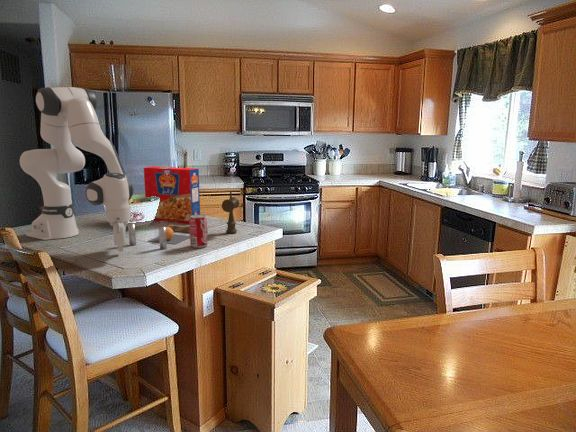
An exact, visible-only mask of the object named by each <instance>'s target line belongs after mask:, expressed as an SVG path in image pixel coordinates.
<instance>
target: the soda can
mask: <svg viewBox="0 0 576 432" xmlns="http://www.w3.org/2000/svg"><path fill="white" fill-rule="evenodd" d="M188 226H190V233H189V236H190V238H189V242H190V244H189V245H190V246H191V247H192V248H194V249H204V248H205V247H207V246H208V244H209V241H208V240H209V237H208V233H207V231H208V220H207V218H206V215H205V214H200V215H192V216H190V220H189V224H188Z"/></svg>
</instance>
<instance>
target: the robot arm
mask: <svg viewBox="0 0 576 432" xmlns="http://www.w3.org/2000/svg"><path fill="white" fill-rule="evenodd" d="M35 103H36V107H37V110H39V112H41V114H40V132H39V133H40V137H41V139H42V140H43V141H44V142H46V143H48V144H49V145H51V146H54V147H53V148H37V149H30V150H26V151H23V152H22V153H21V155H20V157H19V165H20V169H22V170H23V172H24V173H25V174H27V175H29V176H31V177H32V178H33V179H34V180H35V181H36V182H37V184H38V185H39V186H40V189H41V193H42V198H43V199H42V200H43V206H39V209H40V210H41V213H40V215H39V216H38V217H37V218H35V219H33V221H32V222H31V231H28V232H27V233H25V234H26V235H25V236H26V237H30V238H34V239H37V240H38V239H39V240H43V241H47V240H55V239H67V238H71V237H75V236H77V235H79V231H80V230H79V228H78V225H77V222H76V217H75V214H74V209H75V207H74V204H73V201H72V200H73V199H72V192H71V191H72V190H71V187H70V186H69V185H68V184H67V183H65V182H63V181H60V180H57V178H56V175H57V174H59V175H60V174H71V173H72V174H73V173H76V172H80V171H82V170H83V169H84V167H85V165H86V157H85V155H84V153H83V152H82V151H81V150H83V151H85V152H89V153H92V154H94V155H96V156H98V157H100V158H101V159H102V160H103V161H104V163H105V165H106V168H107V170H108V173H105V174H103V176H102V177H101V178H100V179H97V180H94V181H91V182H89V183H88V184H87V186H86V188H85V198H86V200H87V201H88V202H89V203H90V204H91V205H92V206H98V207H99V206H105V207H104V210H105V221H106V222H108V223H109V225H110V226H111V227H112V234H113V236H112V237H113V244H114V246H117V248H118V249H117V250H118V253H119V252H121V253H122V252H124V245H125V244H126V230H127V226H128V224H129V223H128V222H129V221H131V219H132V216H131V213H132V211H131V205H130V202H129V201H131V199H132V197H133V194H134V186H133V185H132V183H131V181H130V179H129V178H128V176H127V173H126V172H125V169H124V167H123V164H122V162H121V160H120V156H119V154H118V152H117V150H116V148H115V146H114V144H113V142H112V141H111V140H110V139H108V138H107V137H106V135H105V133H104V131H102V128H101V126H100V121H99V119H98V114H97V112H96V109H97V107H98V99H97V96H96V94H95V93H94V91H93V90H92V89H89V88H85V87H76V86H75V87H74V86H57V87H42V88H39V89H38V90H37V92H36V94H35ZM72 142H73V143H72ZM75 146H76V147H78V148H79V149H78V148H76V147H75ZM80 149H81V150H80Z"/></svg>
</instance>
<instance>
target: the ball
mask: <svg viewBox="0 0 576 432" xmlns="http://www.w3.org/2000/svg"><path fill="white" fill-rule="evenodd" d="M165 227H166V240H170V239H171V238H172V237H173V235H174V232H175V231H173V230H172V229H171V228H170V227H168V226H165Z"/></svg>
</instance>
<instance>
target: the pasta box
mask: <svg viewBox="0 0 576 432" xmlns="http://www.w3.org/2000/svg"><path fill="white" fill-rule="evenodd" d="M199 173H200V170H199V168H194V167H173V166H170V167H169V166H154V165H153V166H147V167H146V166H145V167H143V179H144V181H143V182H144V194H145V195H144V196H145V197H151V196H156V197H159V198H160V202H159V206H158V209H157V213H156V216H155V219H154V221H153V222H160V221H161V222H162V223H171V224H172V223H173V224H181V223H182V225H189V220H190V216H192V215H201V199H200V174H199Z"/></svg>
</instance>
